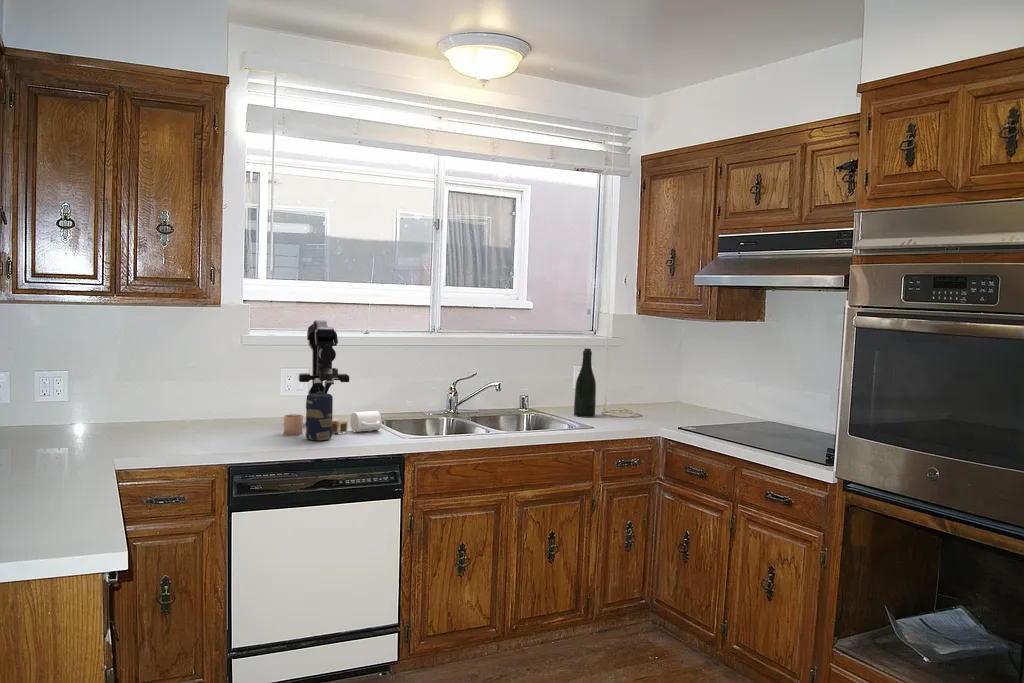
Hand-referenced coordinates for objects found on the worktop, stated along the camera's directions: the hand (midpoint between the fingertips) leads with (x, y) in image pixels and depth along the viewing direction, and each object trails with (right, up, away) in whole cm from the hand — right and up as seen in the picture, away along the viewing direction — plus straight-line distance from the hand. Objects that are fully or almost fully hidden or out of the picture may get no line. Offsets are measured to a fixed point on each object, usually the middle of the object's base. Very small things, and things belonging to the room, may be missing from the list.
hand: (323, 400), depth 296 cm
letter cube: (+5, -13, +3) cm, 14 cm away
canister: (+1, -14, -12) cm, 19 cm away
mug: (+16, -14, +7) cm, 22 cm away
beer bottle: (+108, -14, +76) cm, 133 cm away
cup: (-11, -13, -3) cm, 17 cm away
